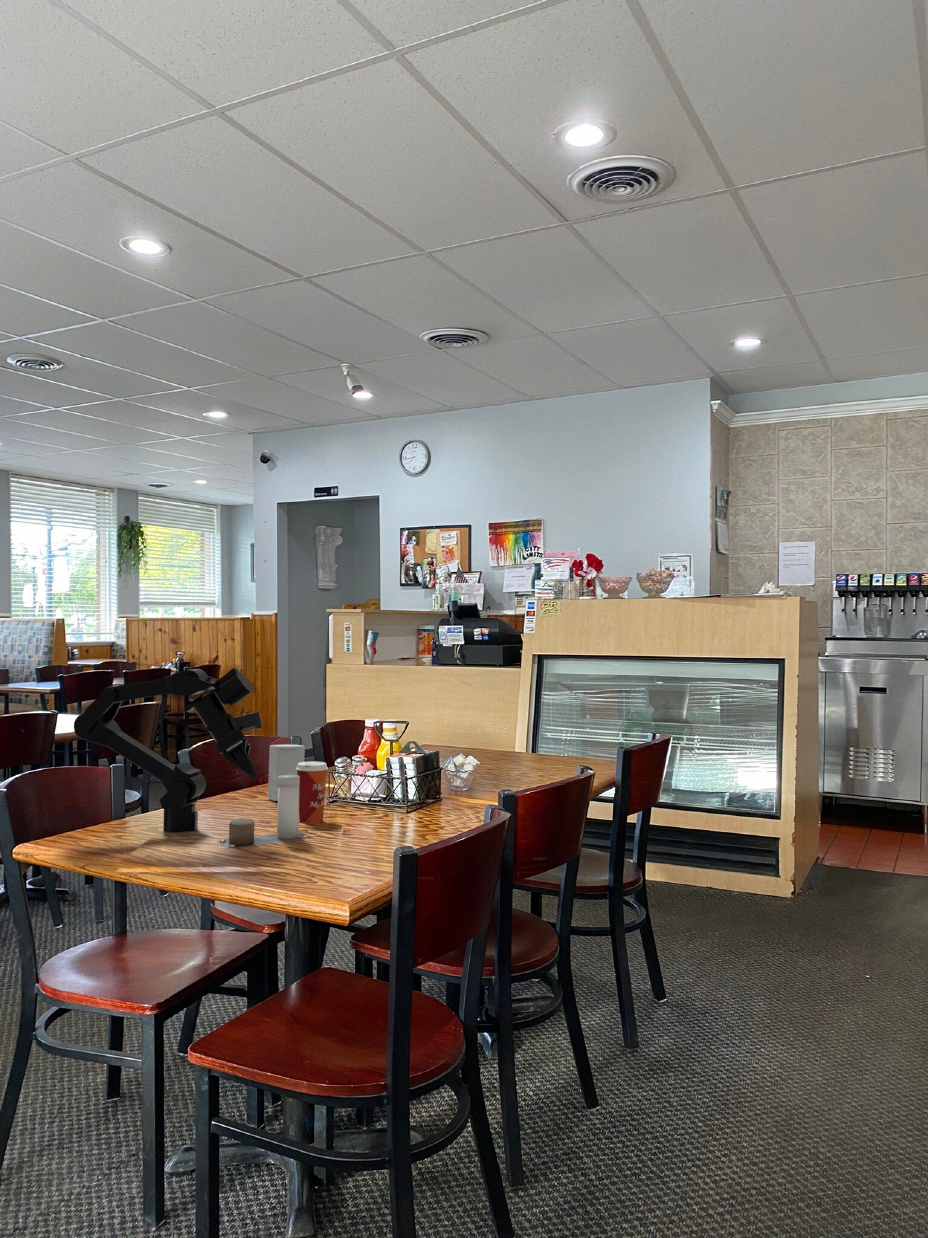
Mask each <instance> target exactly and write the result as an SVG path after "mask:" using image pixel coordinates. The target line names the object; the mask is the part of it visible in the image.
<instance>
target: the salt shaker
mask: <svg viewBox="0 0 928 1238" xmlns="http://www.w3.org/2000/svg"><path fill="white" fill-rule="evenodd" d="M299 784H300V776H298V775H281V776H278V802H277V806H276V807H277V808H276V810H277V812H276V814H277V817H276V834H277V837H278V838H283V839H290V838H296V837H298V831H299V823H300V821H299Z"/></svg>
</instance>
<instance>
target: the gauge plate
mask: <svg viewBox="0 0 928 1238" xmlns="http://www.w3.org/2000/svg"><path fill="white" fill-rule="evenodd" d="M306 839H314V837H313V836H310V835H309V834H306V833H303V832H301V831H300V830H298V837H296V838H290V839H283V838H278V837H277V833H270V834H263V835H254V843H251V844H246V845H233V844H229V839H220V840H215V842H216V843H218V844H220V845H221V846H224V847H226V848H227V849H237V848H243V847H252V846H259V845H267V844H276V843H283V842H291V841H300V840H306Z"/></svg>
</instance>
